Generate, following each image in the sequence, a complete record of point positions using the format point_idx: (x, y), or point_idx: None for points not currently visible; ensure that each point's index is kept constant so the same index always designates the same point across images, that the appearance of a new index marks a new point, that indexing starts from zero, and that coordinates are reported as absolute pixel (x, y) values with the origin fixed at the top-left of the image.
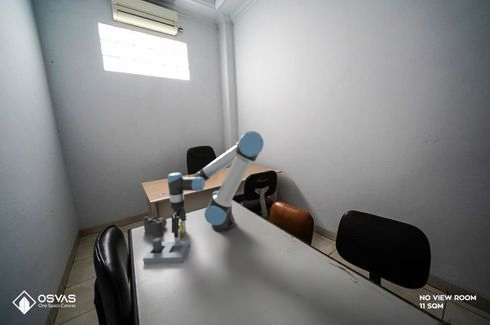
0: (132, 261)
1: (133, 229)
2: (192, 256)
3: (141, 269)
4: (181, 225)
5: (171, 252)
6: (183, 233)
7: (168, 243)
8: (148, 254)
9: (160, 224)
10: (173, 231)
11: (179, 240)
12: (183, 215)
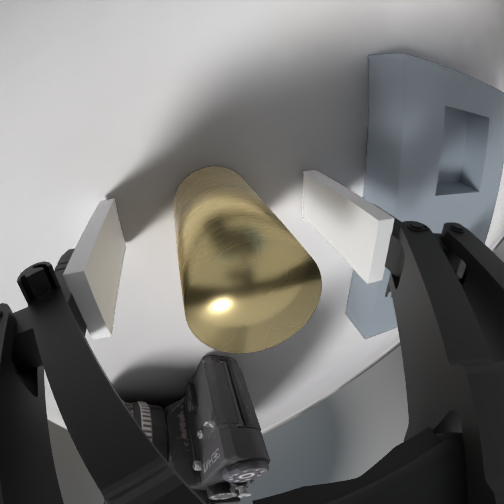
0: None
1: None
2: (451, 34)
3: None
4: (297, 244)
5: (439, 179)
6: (228, 178)
7: None
8: None
9: (251, 448)
10: (459, 264)
11: (323, 175)
12: (81, 395)
